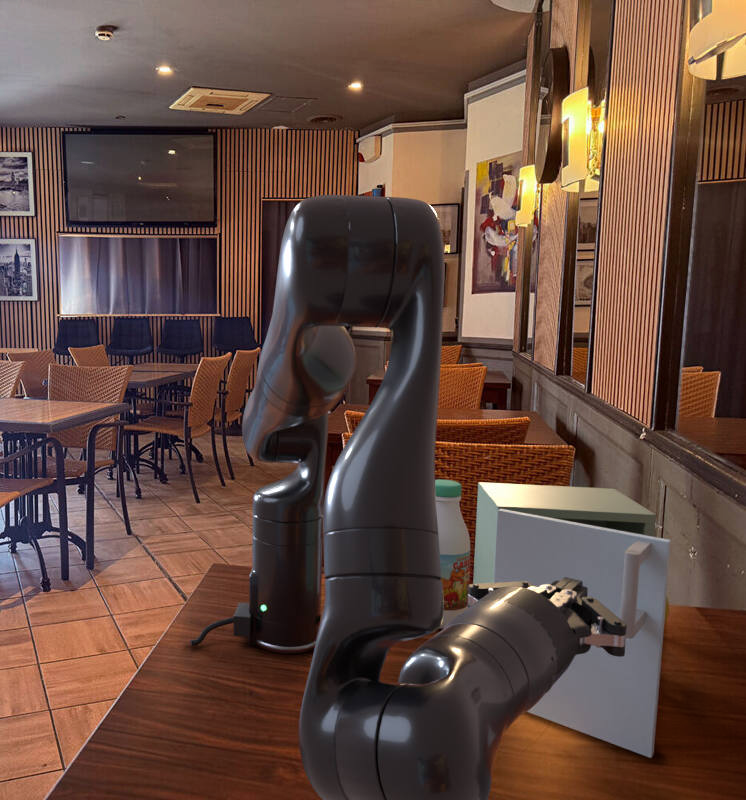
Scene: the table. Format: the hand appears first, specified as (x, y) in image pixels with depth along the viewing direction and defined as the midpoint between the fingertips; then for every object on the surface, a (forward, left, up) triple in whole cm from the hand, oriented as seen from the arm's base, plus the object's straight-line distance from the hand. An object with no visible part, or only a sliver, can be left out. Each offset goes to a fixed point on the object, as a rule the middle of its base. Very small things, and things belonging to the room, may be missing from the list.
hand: (573, 589), depth 64 cm
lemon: (+20, +34, -18) cm, 43 cm away
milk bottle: (-7, +33, -18) cm, 38 cm away
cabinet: (+4, +19, -18) cm, 27 cm away
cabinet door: (+1, +6, -18) cm, 19 cm away
